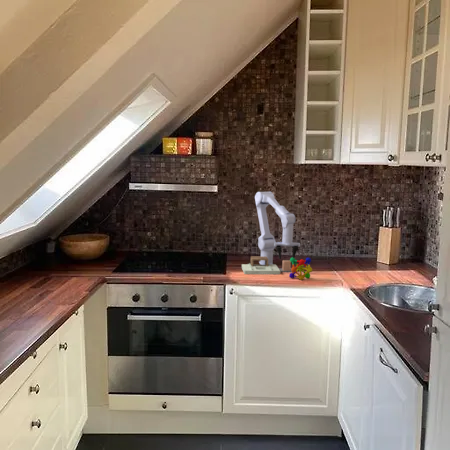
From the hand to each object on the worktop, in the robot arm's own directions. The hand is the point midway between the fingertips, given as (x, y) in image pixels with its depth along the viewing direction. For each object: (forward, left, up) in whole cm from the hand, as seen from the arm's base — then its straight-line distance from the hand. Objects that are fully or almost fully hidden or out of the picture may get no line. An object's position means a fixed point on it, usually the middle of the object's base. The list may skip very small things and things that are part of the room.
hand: (286, 258), depth 274 cm
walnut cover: (-5, -15, -5) cm, 16 cm away
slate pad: (0, 0, -7) cm, 7 cm away
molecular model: (+19, +4, -7) cm, 21 cm away
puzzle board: (+1, -15, -7) cm, 17 cm away
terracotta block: (0, 0, -6) cm, 6 cm away
